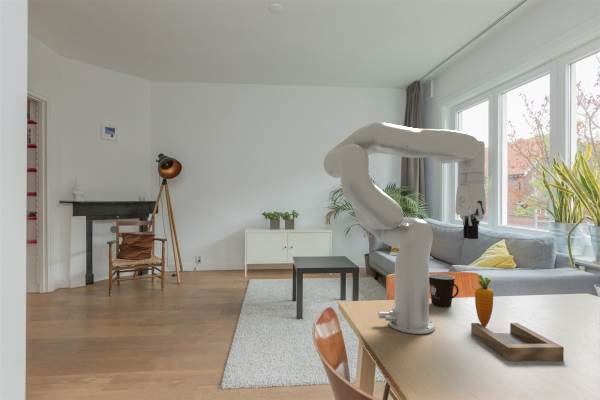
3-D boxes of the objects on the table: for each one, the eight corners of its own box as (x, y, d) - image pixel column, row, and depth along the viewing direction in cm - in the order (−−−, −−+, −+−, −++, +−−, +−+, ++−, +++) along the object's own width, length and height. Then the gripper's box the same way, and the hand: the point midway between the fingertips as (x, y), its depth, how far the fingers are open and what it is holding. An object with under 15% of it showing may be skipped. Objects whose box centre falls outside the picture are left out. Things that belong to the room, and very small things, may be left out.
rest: (508, 360, 79) (508, 347, 79) (471, 334, 95) (471, 323, 95) (563, 360, 80) (563, 347, 80) (517, 333, 95) (517, 322, 96)
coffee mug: (425, 300, 127) (426, 273, 127) (450, 301, 126) (450, 274, 126) (433, 310, 116) (433, 280, 116) (460, 311, 114) (461, 281, 114)
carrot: (496, 331, 97) (496, 277, 97) (477, 329, 98) (477, 277, 98) (490, 325, 102) (490, 274, 102) (472, 323, 103) (472, 273, 103)
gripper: (447, 181, 116) (447, 236, 116) (472, 177, 100) (472, 241, 100) (469, 181, 116) (469, 236, 116) (497, 178, 100) (497, 241, 100)
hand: (470, 238), depth 108 cm, fingers closed
